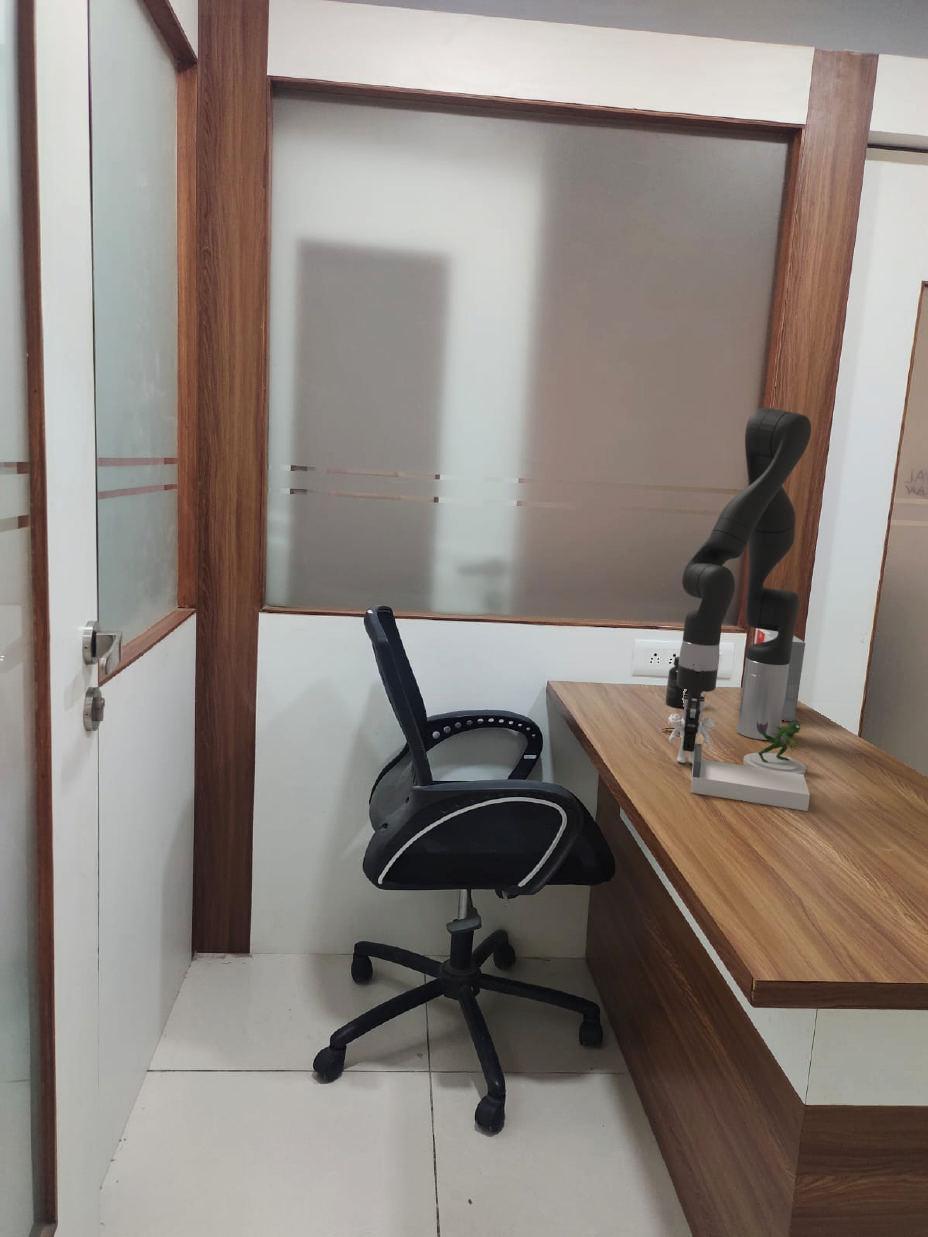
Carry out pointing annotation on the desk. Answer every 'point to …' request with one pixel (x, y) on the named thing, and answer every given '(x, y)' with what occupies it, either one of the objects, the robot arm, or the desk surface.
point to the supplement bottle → (674, 687)
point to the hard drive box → (793, 671)
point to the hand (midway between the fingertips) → (688, 747)
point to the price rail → (697, 760)
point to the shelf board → (751, 785)
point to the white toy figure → (680, 727)
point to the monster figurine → (778, 760)
